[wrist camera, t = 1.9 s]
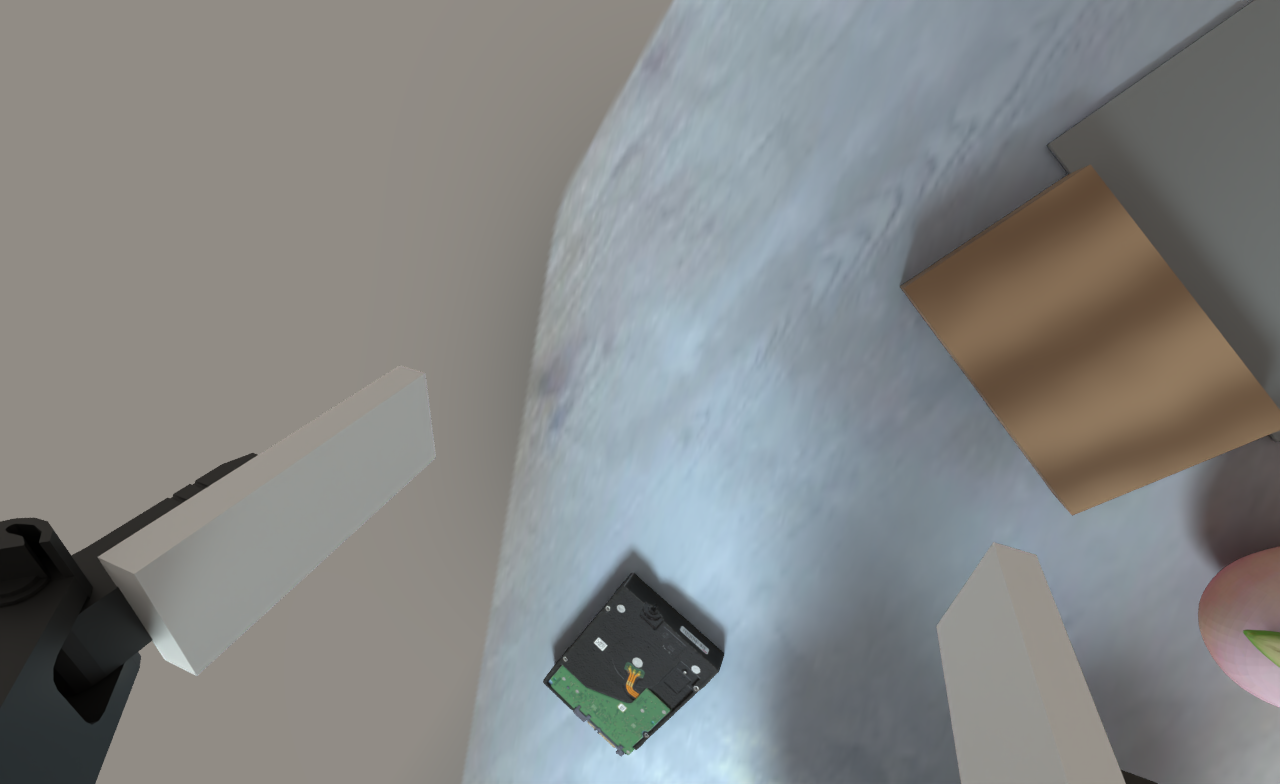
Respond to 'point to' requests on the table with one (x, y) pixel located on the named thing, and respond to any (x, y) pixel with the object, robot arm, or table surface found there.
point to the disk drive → (633, 666)
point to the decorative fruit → (1246, 622)
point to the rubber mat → (1205, 175)
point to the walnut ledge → (1090, 346)
